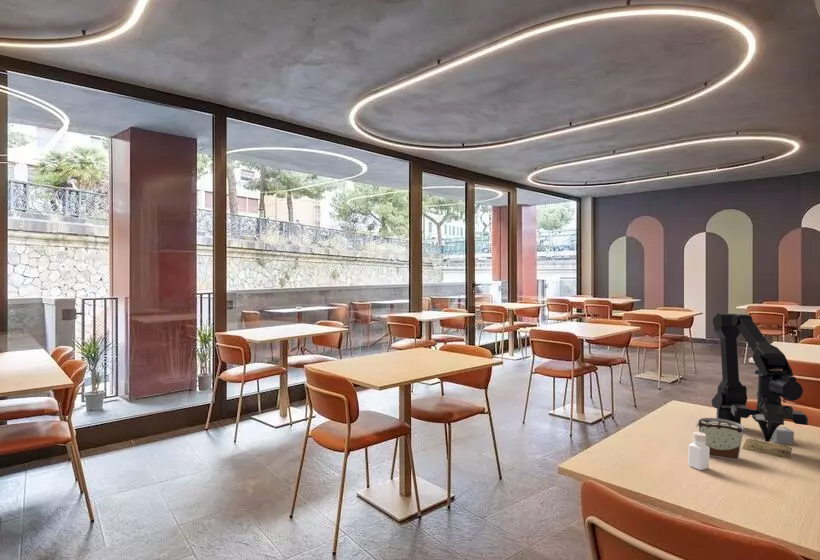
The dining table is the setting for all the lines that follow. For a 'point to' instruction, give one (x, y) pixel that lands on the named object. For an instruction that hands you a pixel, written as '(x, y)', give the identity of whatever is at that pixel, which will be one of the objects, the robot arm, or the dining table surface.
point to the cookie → (767, 448)
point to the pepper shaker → (698, 452)
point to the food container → (722, 437)
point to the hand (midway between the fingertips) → (766, 441)
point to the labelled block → (783, 435)
